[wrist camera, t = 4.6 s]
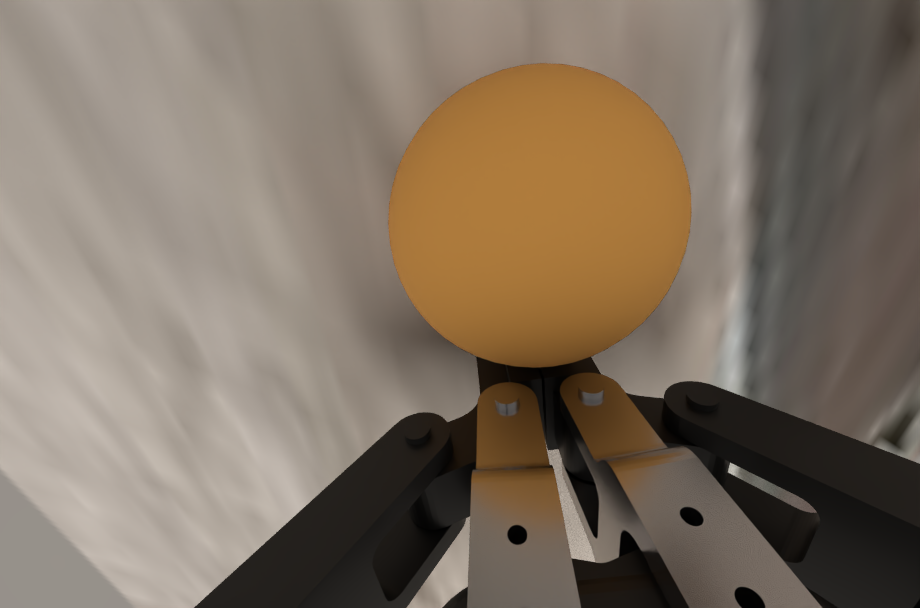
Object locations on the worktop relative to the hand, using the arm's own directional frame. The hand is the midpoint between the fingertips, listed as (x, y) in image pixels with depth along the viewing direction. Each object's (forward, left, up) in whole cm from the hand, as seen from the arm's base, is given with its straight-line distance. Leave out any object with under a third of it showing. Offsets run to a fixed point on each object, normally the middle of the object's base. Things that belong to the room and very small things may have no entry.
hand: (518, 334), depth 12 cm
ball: (-4, 0, +2) cm, 5 cm away
